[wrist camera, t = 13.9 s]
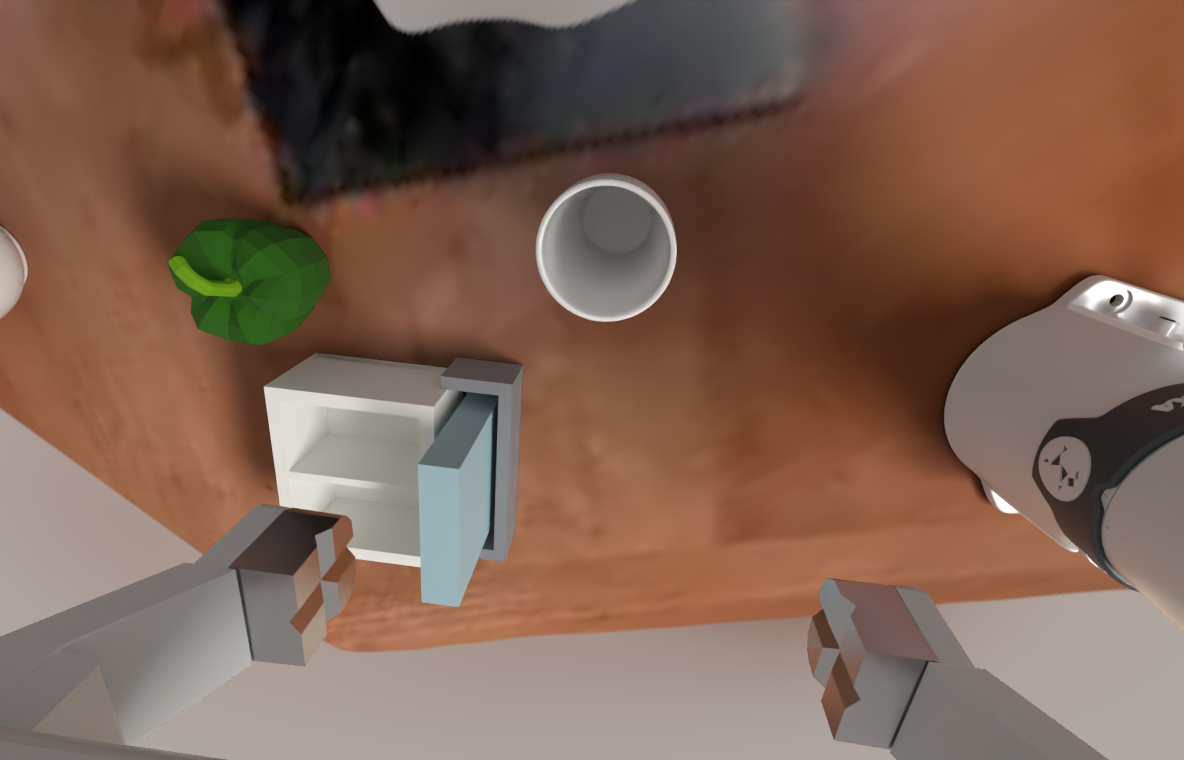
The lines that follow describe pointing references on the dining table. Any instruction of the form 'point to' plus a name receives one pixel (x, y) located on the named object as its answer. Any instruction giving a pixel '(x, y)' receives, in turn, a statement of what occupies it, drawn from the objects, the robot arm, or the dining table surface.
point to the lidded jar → (11, 271)
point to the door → (457, 498)
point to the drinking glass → (606, 247)
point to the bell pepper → (249, 278)
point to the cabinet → (384, 444)
